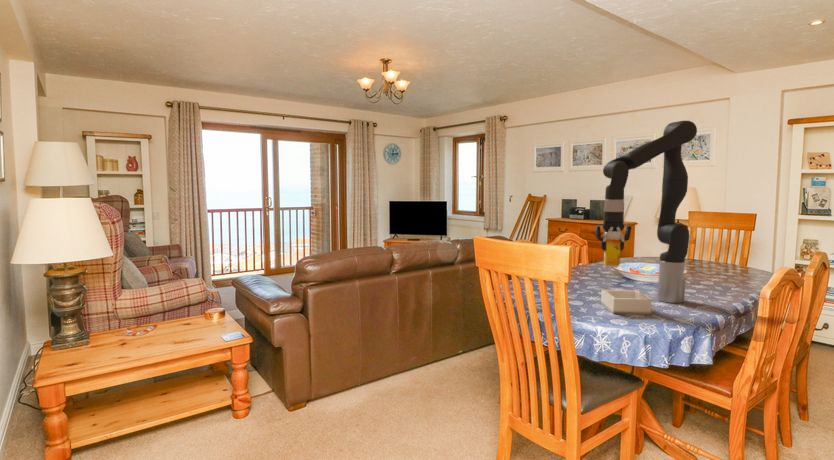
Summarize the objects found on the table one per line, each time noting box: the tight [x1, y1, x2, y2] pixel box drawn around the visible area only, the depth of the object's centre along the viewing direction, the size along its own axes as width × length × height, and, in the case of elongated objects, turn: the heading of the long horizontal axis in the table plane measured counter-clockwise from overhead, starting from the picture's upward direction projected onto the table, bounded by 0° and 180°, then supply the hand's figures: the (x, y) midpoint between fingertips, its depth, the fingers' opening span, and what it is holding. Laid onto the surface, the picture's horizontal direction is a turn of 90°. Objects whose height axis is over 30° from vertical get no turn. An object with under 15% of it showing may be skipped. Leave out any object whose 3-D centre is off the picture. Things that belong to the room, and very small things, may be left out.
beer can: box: [603, 231, 621, 268], centre depth 188 cm, size 6×6×15 cm
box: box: [600, 289, 652, 316], centre depth 181 cm, size 14×14×6 cm
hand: (612, 250), depth 188 cm, fingers closed on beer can, 6 cm apart
